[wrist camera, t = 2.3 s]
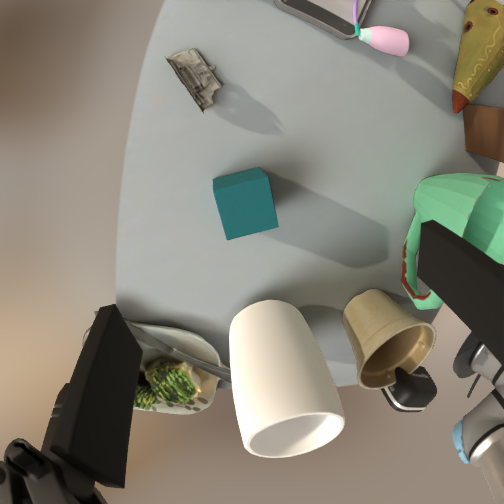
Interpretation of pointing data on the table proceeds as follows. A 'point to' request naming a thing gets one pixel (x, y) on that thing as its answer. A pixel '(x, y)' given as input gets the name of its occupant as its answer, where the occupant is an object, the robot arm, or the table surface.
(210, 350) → the salad plate
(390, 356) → the flower pot
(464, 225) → the mug
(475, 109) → the wooden tower block
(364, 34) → the earplug
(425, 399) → the battery charger
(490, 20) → the ocarina
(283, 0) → the smartphone
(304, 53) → the table surface
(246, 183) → the teal cube
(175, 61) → the grey jagged fragment
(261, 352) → the cup
